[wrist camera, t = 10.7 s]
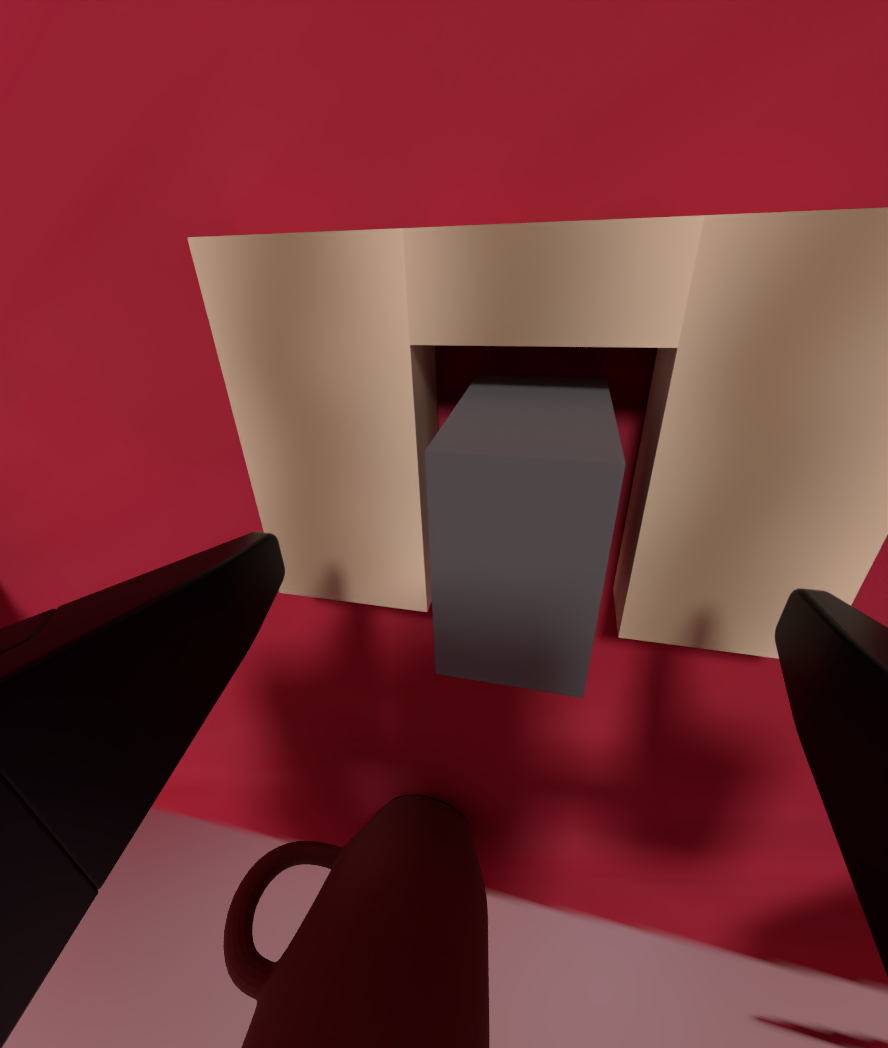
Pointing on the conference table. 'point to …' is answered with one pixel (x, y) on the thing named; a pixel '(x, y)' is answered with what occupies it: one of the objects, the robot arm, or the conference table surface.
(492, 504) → the grey block
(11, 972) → the robot arm
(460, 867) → the mug
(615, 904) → the conference table surface
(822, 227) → the notch board
